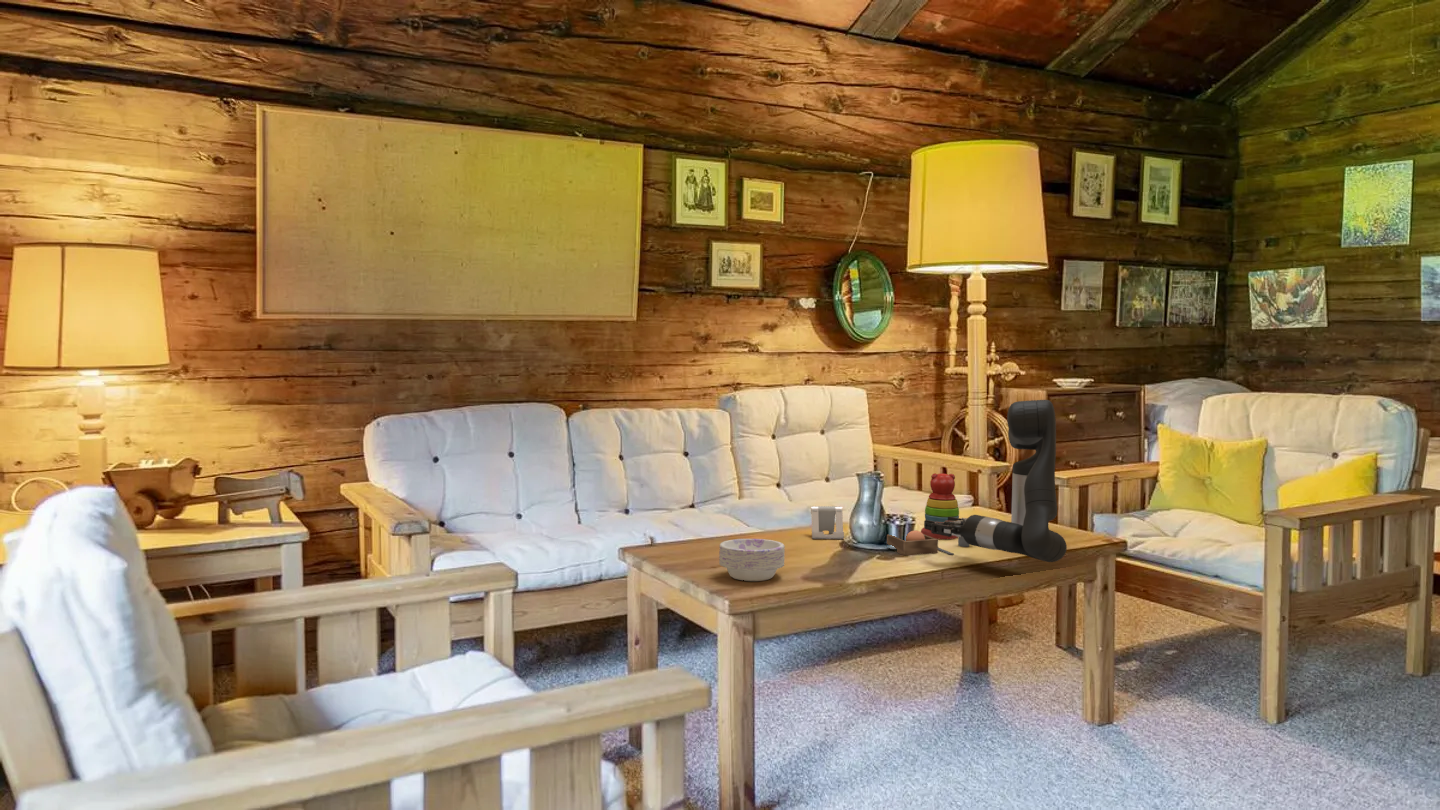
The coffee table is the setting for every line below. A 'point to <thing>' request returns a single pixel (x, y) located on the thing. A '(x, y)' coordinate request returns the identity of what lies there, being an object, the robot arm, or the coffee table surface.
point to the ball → (915, 536)
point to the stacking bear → (941, 502)
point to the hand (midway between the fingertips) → (936, 522)
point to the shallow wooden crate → (914, 545)
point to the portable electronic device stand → (827, 522)
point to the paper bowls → (751, 558)
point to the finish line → (945, 551)
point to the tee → (962, 542)
